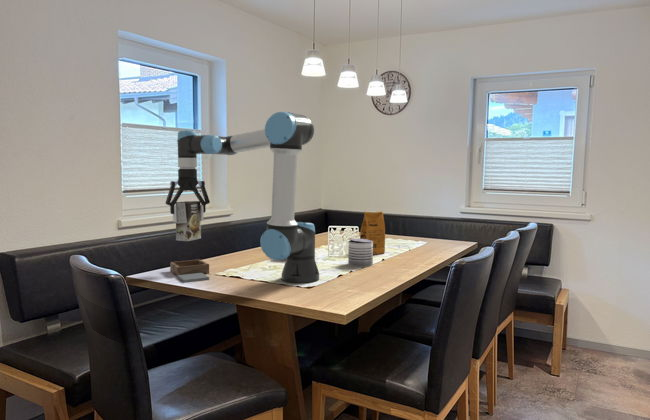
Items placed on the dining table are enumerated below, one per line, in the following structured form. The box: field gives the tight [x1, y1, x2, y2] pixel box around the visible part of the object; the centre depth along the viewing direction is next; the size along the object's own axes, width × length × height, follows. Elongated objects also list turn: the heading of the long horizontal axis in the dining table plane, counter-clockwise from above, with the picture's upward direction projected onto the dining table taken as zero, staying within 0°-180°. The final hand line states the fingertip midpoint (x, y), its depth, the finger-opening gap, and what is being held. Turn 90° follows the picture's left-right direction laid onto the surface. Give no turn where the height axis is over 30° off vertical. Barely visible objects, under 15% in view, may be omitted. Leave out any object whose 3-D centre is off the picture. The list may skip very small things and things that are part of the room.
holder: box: [169, 259, 210, 277], centre depth 207 cm, size 13×13×4 cm
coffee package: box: [359, 211, 386, 255], centre depth 255 cm, size 10×12×22 cm
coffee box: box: [175, 200, 202, 242], centre depth 203 cm, size 9×6×16 cm
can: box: [347, 237, 374, 268], centre depth 225 cm, size 11×11×12 cm
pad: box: [176, 273, 210, 283], centre depth 196 cm, size 10×10×1 cm
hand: (188, 221), depth 203 cm, fingers closed on coffee box, 11 cm apart
